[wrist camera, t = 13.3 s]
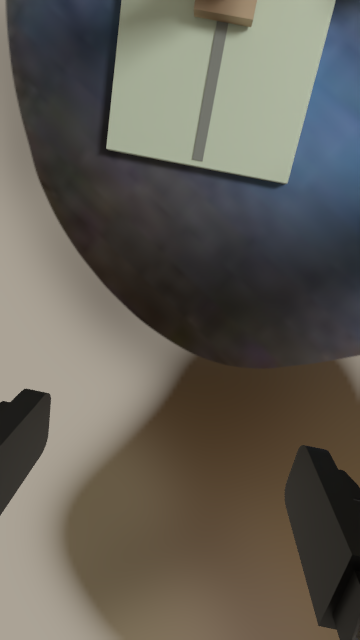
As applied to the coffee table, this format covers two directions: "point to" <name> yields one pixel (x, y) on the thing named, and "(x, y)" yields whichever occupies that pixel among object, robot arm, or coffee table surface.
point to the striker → (226, 11)
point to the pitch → (216, 85)
